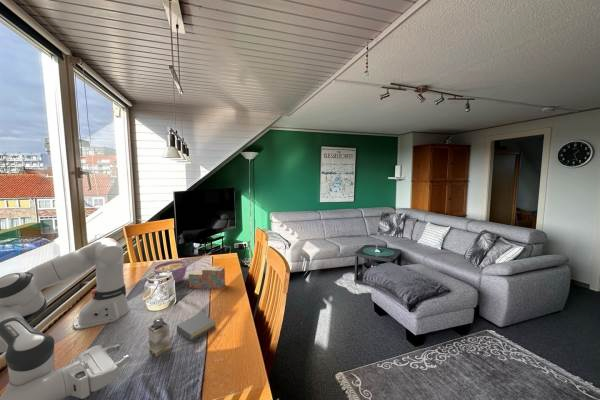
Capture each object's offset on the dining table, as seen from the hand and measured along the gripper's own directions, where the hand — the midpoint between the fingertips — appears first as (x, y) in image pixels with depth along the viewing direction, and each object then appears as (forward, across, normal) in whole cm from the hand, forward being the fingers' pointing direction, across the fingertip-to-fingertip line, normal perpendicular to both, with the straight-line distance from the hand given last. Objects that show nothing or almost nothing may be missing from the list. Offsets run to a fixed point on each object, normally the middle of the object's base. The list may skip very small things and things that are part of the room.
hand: (124, 351), depth 90 cm
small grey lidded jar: (+12, 0, -7) cm, 14 cm away
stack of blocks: (+57, -36, -7) cm, 68 cm away
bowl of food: (+47, -61, -7) cm, 78 cm away
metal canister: (+12, 0, +3) cm, 12 cm away
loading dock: (+28, -1, -7) cm, 29 cm away
